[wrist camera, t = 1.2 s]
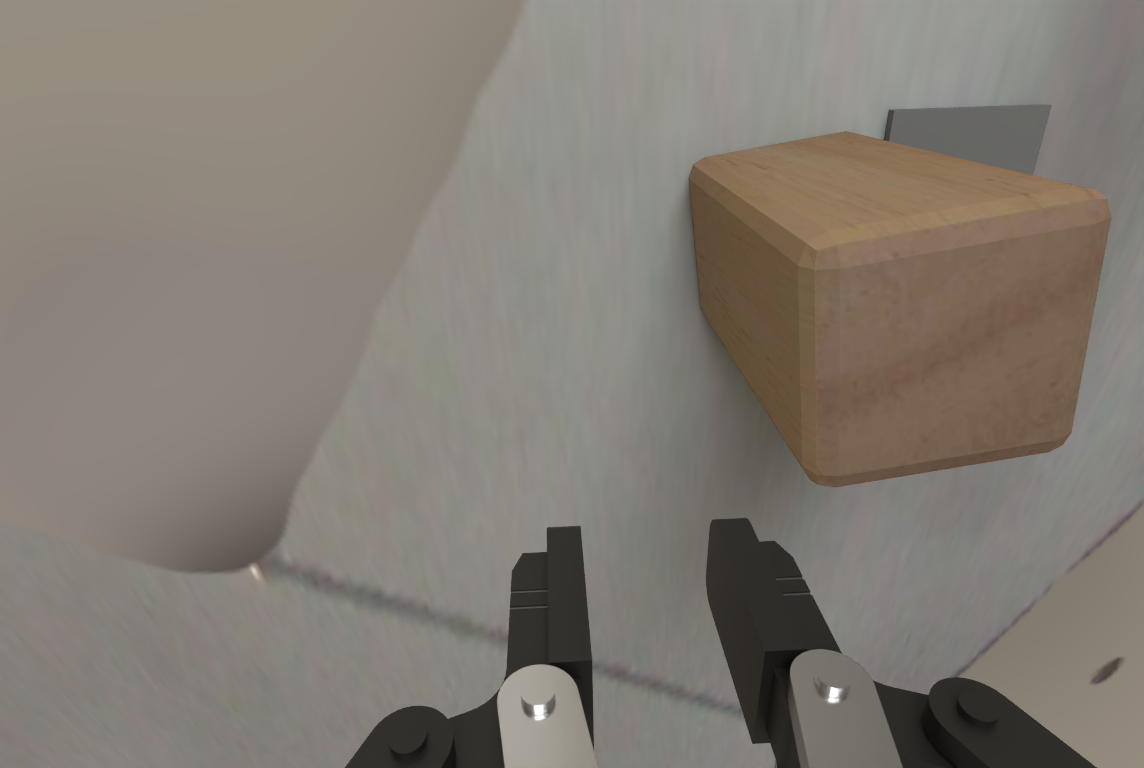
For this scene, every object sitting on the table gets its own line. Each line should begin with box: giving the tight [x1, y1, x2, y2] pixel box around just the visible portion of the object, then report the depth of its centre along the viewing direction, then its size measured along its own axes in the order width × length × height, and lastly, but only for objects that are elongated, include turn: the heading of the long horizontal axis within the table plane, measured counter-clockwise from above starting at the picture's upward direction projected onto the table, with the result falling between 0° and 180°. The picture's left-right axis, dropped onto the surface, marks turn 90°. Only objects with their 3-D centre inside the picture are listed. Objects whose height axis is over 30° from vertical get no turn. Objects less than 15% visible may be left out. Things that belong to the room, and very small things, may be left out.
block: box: [689, 131, 1111, 487], centre depth 32 cm, size 10×10×20 cm
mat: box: [884, 105, 1051, 175], centre depth 41 cm, size 9×13×1 cm
